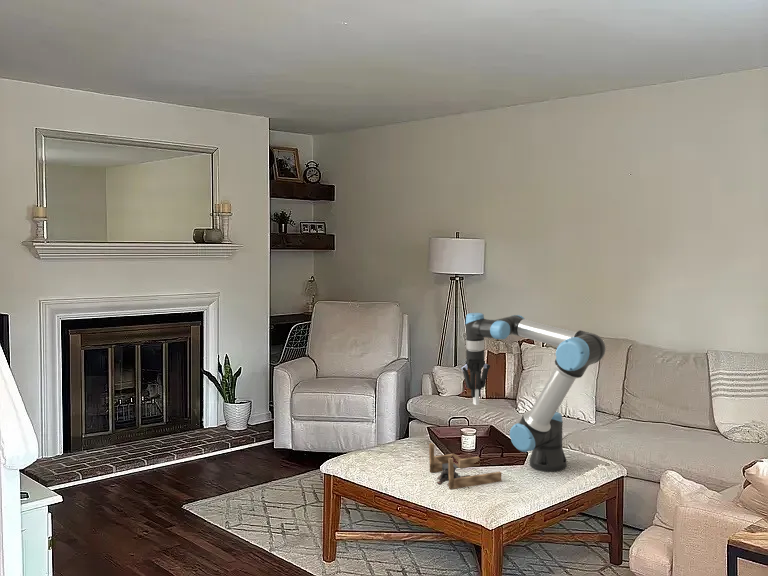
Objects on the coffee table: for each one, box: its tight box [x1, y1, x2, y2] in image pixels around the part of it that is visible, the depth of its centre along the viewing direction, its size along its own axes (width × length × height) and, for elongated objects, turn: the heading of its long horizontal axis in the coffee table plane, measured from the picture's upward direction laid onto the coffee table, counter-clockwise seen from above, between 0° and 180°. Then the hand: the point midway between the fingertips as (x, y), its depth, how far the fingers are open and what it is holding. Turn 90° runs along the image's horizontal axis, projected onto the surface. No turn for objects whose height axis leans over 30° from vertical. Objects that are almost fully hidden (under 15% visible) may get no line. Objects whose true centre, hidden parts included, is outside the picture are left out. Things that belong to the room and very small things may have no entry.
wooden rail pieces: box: [428, 442, 502, 490], centre depth 315 cm, size 22×28×12 cm
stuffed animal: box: [436, 467, 471, 487], centre depth 308 cm, size 12×10×12 cm
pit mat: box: [442, 463, 459, 471], centre depth 324 cm, size 7×6×1 cm
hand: (476, 404), depth 328 cm, fingers closed
